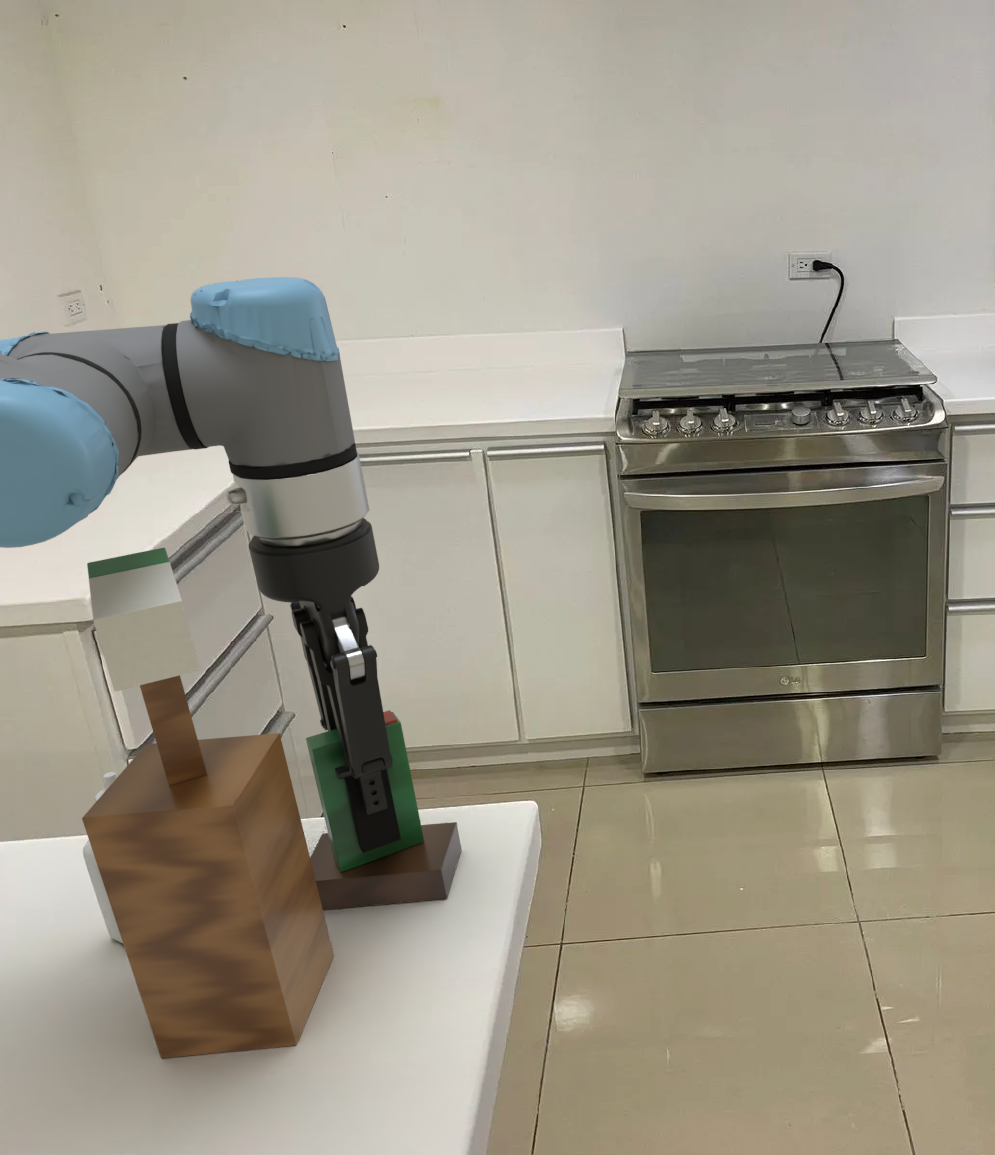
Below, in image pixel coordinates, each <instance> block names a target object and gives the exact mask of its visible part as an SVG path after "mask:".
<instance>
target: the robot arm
mask: <svg viewBox="0 0 995 1155" xmlns="http://www.w3.org/2000/svg"><path fill="white" fill-rule="evenodd" d="M190 306H191V312H190V313H189V319H186V320H181V321H179V322H175V323H167V324H162V325H160V324H159V325H148V326H134V327H122V328H121V327H120V328H109V329H108V328H107V329H97V330H82V331H80V330H79V331H70V332H55V333H54V332H53V333H50V332H49V331H39V332H38V331H37V332H34V331H33V332H32V333H29V334H27V335H22V336H18V337H11V338H3V339H0V548H2V549H3V548H4V549H5V548H6V549H11V548H23V547H29V546H34V545H38V544H41V543H44V542H47V541H50V540H52V539H54V538H57V536H60V535H62V534H63V533H65V532H66V531H68V530H69V529H71V528H72V527H73V526H75V525H76V524H78V523H79V522H81V521H84V519H86V518H88V516H89V515H90V514H92V513H93V512H95V511H96V510H98V509H99V507H100V506H101V504H102V503H103V502H104V499H105V498H106V497H107V496H108V495H110V494H111V493H112V491H113V489H114V487H115V484H116V482H117V481H118V479H119V478H120V476H122V475H123V474H124V473H125V472H126V471H127V470H128V469H129V467H130V466H131V465H132V464H133V463H134V462H135V461H136V460H137V459H138V457H143V456H145V457H146V456H152V455H158V454H159V455H160V454H166V453H167V454H168V453H172V452H173V453H174V452H183V451H190V450H195V451H196V450H204V449H208V448H210V447H219V446H221V447H223V449H224V452H225V454H226V456H227V459H228V466H229V471H230V473H231V474H232V478H233V482H234V483H235V484H236V485H237V486H238V487H236V488H233V489H230V490H227V491H226V493H225V497H226V501H227V503H228V504H229V505H231V506H237V505H239V508H240V513H241V518H242V521H243V527H244V529H245V531H246V532H247V533H248V534H249V535H252V538H251V539H250V541H249V543H248V552H249V555H250V560H251V564H252V567H253V571H254V576H255V580H256V585H257V589H258V590H259V592H260V593H261V595H263V596H265V597H266V598H267V599H270V600H272V601H275V602H276V601H277V602H282V603H290V604H289V606H290V607H289V608H290V610H291V612H290V613H291V618H292V623H293V626H294V629H295V631H296V632H297V634H298V636H299V637H300V641H301V646H302V651H303V656H304V658H305V661H306V664H307V667H308V671H309V676H310V679H311V684H312V688H313V691H314V696H315V700H316V704H317V708H318V712H319V715H320V720H319V722H320V726H321V727H322V728H323V729H324V731H325V732H327V731H331V730H334V729H337V730H338V735H339V739H340V743H341V747H342V751H343V755H344V760H345V765H343V766H340V767H337V768H334V769H335V772H336V775H337V778H338V779H339V780H340V779H343V778H345V782H346V787H347V791H348V796H349V800H350V805H351V809H352V814H353V818H354V823H355V827H356V832H357V836H358V841H359V845H360V849H361V851H362V852H363V853H365V852H367V851H370V850H373V849H376V848H379V847H381V846H384V845H387V844H390V843H392V842H395V841H398V840H401V836H400V831H399V826H398V821H397V817H396V812H395V807H394V802H393V797H392V792H391V787H390V783H389V778H388V773H387V768H391V767H392V765H393V764H392V761H393V759H392V756H391V754H390V749H389V743H388V737H387V731H386V725H385V719H384V713H383V712H384V709H383V708H384V707H383V703H382V696H381V690H380V685H379V678H378V662H377V660H378V659H377V658H378V653H377V650H376V649H375V646H373V645H372V644H368V639H367V635H368V633H369V625H368V622H367V617H366V613H365V611H364V608H363V607H359V608H357V606H356V603H355V602H356V601H355V599H354V598H353V594H354V593H355V592H356V591H358V590H359V589H360V588H361V587H365V586H367V585H369V584H370V583H371V582H372V581H373V580H374V579H375V578H376V577H377V575H378V574H379V570H380V561H379V557H378V551H377V546H376V541H375V536H374V531H373V526H372V524H371V522H369V521H368V519H366V518H365V517H366V515H367V514H368V513H369V511H370V506H369V501H368V496H367V490H366V484H365V479H364V474H363V469H362V465H361V464H362V463H361V458H360V453H359V452H358V450H357V446H356V439H355V433H354V429H353V423H352V417H351V416H352V415H351V411H350V405H349V399H348V394H347V388H346V383H345V377H344V370H343V367H342V366H343V365H342V361H341V353H340V348H339V347H338V345H337V341H336V337H335V333H334V329H333V325H332V321H331V317H330V313H329V309H328V308H329V307H328V304H327V300H326V297H325V295H324V293H323V291H322V290H321V289H320V288H319V287H318V286H317V285H316V284H315V283H314V282H312V281H310V280H309V279H306V278H303V277H297V276H296V277H294V276H272V277H256V278H247V279H242V280H233V281H232V280H231V281H220V282H216V283H215V282H214V283H210V284H206V285H203V286H200V287H197V288H196V289H194V290H193V292H192V293H191V296H190Z"/></svg>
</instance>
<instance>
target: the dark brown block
mask: <svg viewBox="0 0 995 1155" xmlns="http://www.w3.org/2000/svg"><path fill="white" fill-rule="evenodd" d="M421 827H422V832H423V837H424V842H422V843H420V844H417V845H414V846H411V847H409V848H406V849H403V850H401V851H398V852H395V853H392V854H390V855H387V856H384V857H381V858H379V859H376V860H373V861H370V862H368V863H365V864H362V865H359V866H357V867H354V868H351V869H349V870H346V871H343V872H340V870H339V868H338V866H337V864H336V862H335V860H334V857H333V852H332V848H331V844H330V840H329V835H328V832H325V833H323V832H322V834H321V835H320V837H319V839H318V842H317V843H316V845H315V847H314V849H313V851H312V853H311V855H310V860H311V864H312V868H313V872H314V876H315V880H316V884H317V888H318V892H319V896H320V900H321V905H322V909H323V911H324V910H335V909H347V908H358V907H370V906H381V905H392V904H403V903H404V904H405V903H414V902H426V901H437V900H446V899H447V898H448V895H449V892H450V889H451V885H452V882H453V878H454V876H455V872H456V869H457V867H458V866H457V865H458V862H459V859H460V856H461V854H462V853H461V852H462V844H461V839H460V834H459V833H460V832H459V826H458V822H457V821H453V822H440V823H431V824H430V823H429V824H421Z"/></svg>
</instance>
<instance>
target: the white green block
mask: <svg viewBox="0 0 995 1155" xmlns="http://www.w3.org/2000/svg"><path fill="white" fill-rule="evenodd" d="M86 568H87V574H88V576H87V577H88V584H89V594H90V602H91V611H92V612H91V614H92V620H93V624H94V628H95V631H96V634H97V638H98V641H99V644H100V647H101V651H102V654H103V657H104V661H105V664H106V668H107V670H108V674H109V677H110V680H111V684H112V687H113V690H114V692H119V691H123V690H127V689H131V688H134V687H135V688H136V687H140V685H143V684H147V683H151V682H155V681H159V680H163V679H167V678H171V677H175V676H179V675H180V676H183V675H187V674H191V673H195V672H200V671H201V667H200V663H199V658H198V655H197V652H196V647H195V644H194V640H193V636H192V633H191V628H190V625H189V621H188V618H187V613H186V610H185V606H184V603H183V599H182V596H181V593H180V590H179V587H178V583H177V581H176V577H175V574H174V571H173V568H172V565H171V562H170V559H169V556H168V552H167V549H166V547H159V548H154V549H149V550H145V551H140V552H135V553H130V554H129V553H128V554H124V555H120V556H114V557H110V558H105V559H101V560H96V561H90V562H87V564H86Z"/></svg>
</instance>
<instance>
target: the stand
mask: <svg viewBox="0 0 995 1155" xmlns="http://www.w3.org/2000/svg"><path fill="white" fill-rule="evenodd" d="M139 688H140V692H141V695H142V699H143V703H144V705H145V708H146V712H147V715H148V720H149V723H150V726H151V729H152V732H153V737H154V739H155V742H154V743H146V744H145V745H144V746H143V747H142V748H141V749H140V750H139V752H138V753H136V755H135V756H134V757H133V759H132V760H131V761H130V762H129V763H128V765H127V766H126V767H125V768H123V770H122V771H121V773H120V774H119V775H117V778H116V779H115V781H114V782H113V783H112V784H111V785H110V786H109V788H108V789H107V790H106V791H105V792H104V793H103V794H102V796H101V797H100V798H99V799H98V800H97V801H96V802H94V804H93V805H92V806H91V807H90V808H89V809H88V810H87V812H86V813H85V814H84V815H83V816H82V817H81V821H82V823H83V827H84V829H85V832H86V835H87V838H88V840H89V841H90V844H91V848H92V851H93V854H94V857H95V860H96V863H97V866H98V869H99V872H100V875H101V878H102V881H103V884H104V887H105V890H106V893H107V896H108V899H109V902H110V905H111V908H112V911H113V914H114V917H115V920H116V923H117V926H118V929H119V932H120V935H121V938H122V941H123V943H122V944H123V947H124V950H125V953H126V957H127V959H128V962H129V966H130V969H131V972H132V975H133V977H134V981H135V984H136V987H137V990H138V993H139V996H140V999H141V1002H142V1005H143V1008H144V1011H145V1014H146V1017H147V1020H148V1023H149V1026H150V1029H151V1032H152V1035H153V1038H154V1041H155V1044H156V1047H157V1050H158V1053H159V1056H160V1058H161V1059H166V1058H167V1059H168V1058H177V1057H188V1056H198V1055H208V1054H218V1053H227V1052H228V1053H230V1052H239V1051H251V1050H261V1049H271V1048H281V1047H293V1046H294V1047H295V1046H297V1045H298V1043H299V1040H300V1038H301V1035H302V1032H303V1030H304V1028H305V1026H306V1024H307V1021H308V1018H309V1016H310V1014H311V1011H312V1009H313V1006H314V1005H315V1002H316V999H317V997H318V994H319V993H320V990H321V987H322V985H323V983H324V980H325V978H326V976H327V973H328V970H329V969H330V967H331V966H330V965H331V963H332V962H333V959H334V956H335V954H334V949H333V946H332V942H331V937H330V934H329V930H328V926H327V920H326V917H325V913H324V910H323V909H322V905H321V900H320V896H319V892H318V888H317V884H316V880H315V876H314V872H313V868H312V864H311V860H310V857H311V855H310V852H309V848H308V843H307V839H306V835H305V831H304V827H303V823H302V819H301V815H300V810H299V807H298V802H297V798H296V796H295V795H296V794H295V790H294V786H293V783H292V777H291V774H290V770H289V766H288V762H287V758H286V753H285V749H284V746H283V741H282V737H281V734H280V733H277V732H275V733H265V734H253V735H252V734H251V735H242V736H241V735H240V736H239V735H238V736H229V737H226V736H225V737H216V738H202V739H198V736H197V732H196V728H195V725H194V720H193V717H192V713H191V711H190V706H189V702H188V699H187V696H186V692H185V688H184V685H183V681H182V678H181V675H179V676H175V677H171V678H167V679H163V680H159V681H155V682H151V683H147V684H143V685H139Z"/></svg>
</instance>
